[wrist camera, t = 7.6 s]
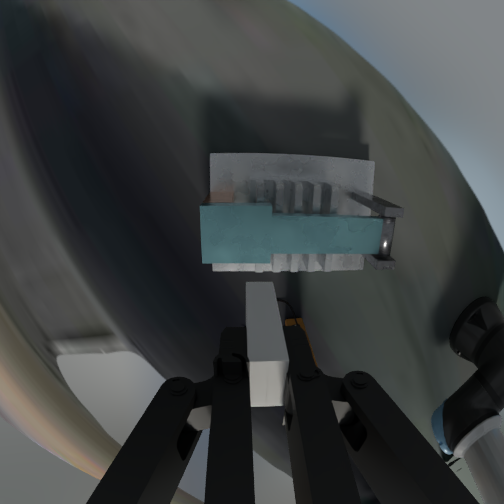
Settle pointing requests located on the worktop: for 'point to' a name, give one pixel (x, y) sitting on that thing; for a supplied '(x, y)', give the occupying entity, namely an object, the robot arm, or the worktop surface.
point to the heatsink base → (300, 199)
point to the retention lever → (287, 233)
